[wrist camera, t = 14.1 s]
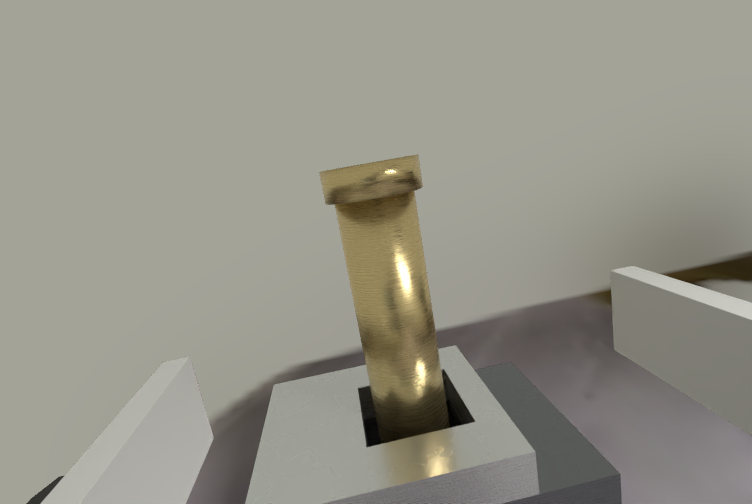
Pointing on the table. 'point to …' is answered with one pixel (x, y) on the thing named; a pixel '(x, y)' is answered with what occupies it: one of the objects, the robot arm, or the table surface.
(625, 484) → the table surface
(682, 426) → the table surface
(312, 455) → the square hole block
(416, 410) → the brass pin
